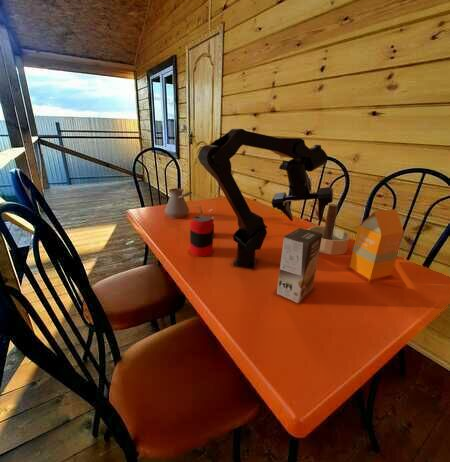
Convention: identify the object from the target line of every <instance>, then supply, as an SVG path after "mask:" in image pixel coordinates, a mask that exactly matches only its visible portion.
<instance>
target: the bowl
mask: <svg viewBox="0 0 450 462" xmlns="http://www.w3.org/2000/svg"><path fill="white" fill-rule="evenodd" d="M307 230H311V231H314V232H318V233H321V234H322V239H321V245H320V250H319V254H323V255H329V256H330V255H331V256H338V255H344V254H346V253H347V252H348V250H349V245H350V241H351V235H350V234H349V233H348V232H347V231H345V230H343V229H340V228H337V227H334V231H333V236H332V240H328V239H323V235H324V230H325V225H316V226H315V225H313V226H311V227H308V228H307Z"/></svg>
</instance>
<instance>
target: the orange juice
mask: <svg viewBox="0 0 450 462" xmlns="http://www.w3.org/2000/svg"><path fill="white" fill-rule="evenodd" d="M404 233H405V231H404V228H403V224H402V223H401V220H400V216H399V213H398V210H397V208H394V209H393V208H392V209H383V210H375V211H373V212H372V213H371V214H370V215H369V216H368V217H367V218H366V219H365V220H364V221H362V222H361V223H360V224H359V225H358V227H357V232H356V236H355V240H354V244H353V248H352V253H351V258H350V263H349V268H351V269H352V270H354V272H357V273H358V274H360V275H361V276H363V277H365V278H367V279H366V281H367V282H369V283H370V282H372V280H374V279H375V280H376V279H380V278H385V277H388V276H392V274H393V271H394V267H395V263H396V261H397V257H398V254H399V250H400V247H401V243H402V239H403V236H404Z"/></svg>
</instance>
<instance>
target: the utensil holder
mask: <svg viewBox="0 0 450 462" xmlns="http://www.w3.org/2000/svg"><path fill="white" fill-rule="evenodd" d="M197 206H198V212H199V214H200V216H203V214H202V213H203V211H202V207H201V204H199V205H197ZM207 213H208V217H209V218H210V219H211V220H212V222H213V236H214V235H215V223H214V217H212V216H210V214H211V213H215V210H208V212H207Z"/></svg>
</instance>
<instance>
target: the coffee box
mask: <svg viewBox="0 0 450 462" xmlns="http://www.w3.org/2000/svg"><path fill="white" fill-rule="evenodd" d="M321 239H322V234H321V233H318V232H314V231H311V230H308V229H305V228H301V227H299V228H297V229H295V230H293V231H292V232H290V233H288V234H286V235H284V236H283V242H282V250H281V257H280V265H279V272H278V273H279V274H278V280H277V290H276V294H277V295H278V296H281V297H284V298H286V299H288V300H290V301H292V302H294V303H296V304H300V303H301V302H302V301H303V299H304V298H306V296H307V295H308V294H309V293H310V292H311V291H312V290H313V288H314V283H315V278H316V274H317V273H316V272H317V268H318V261H319V256H320V252H319V250H320V245H321Z"/></svg>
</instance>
